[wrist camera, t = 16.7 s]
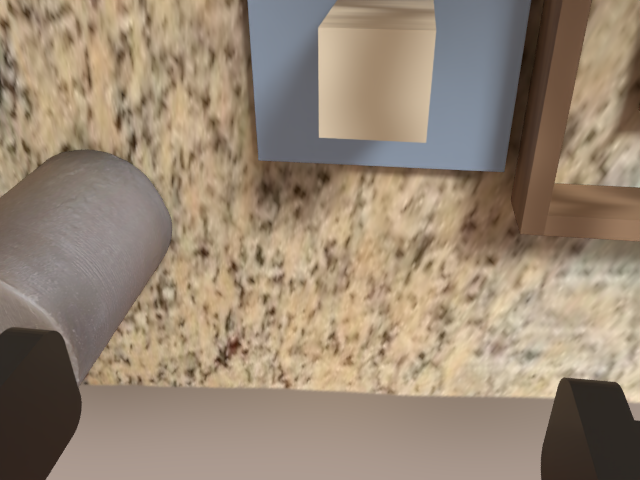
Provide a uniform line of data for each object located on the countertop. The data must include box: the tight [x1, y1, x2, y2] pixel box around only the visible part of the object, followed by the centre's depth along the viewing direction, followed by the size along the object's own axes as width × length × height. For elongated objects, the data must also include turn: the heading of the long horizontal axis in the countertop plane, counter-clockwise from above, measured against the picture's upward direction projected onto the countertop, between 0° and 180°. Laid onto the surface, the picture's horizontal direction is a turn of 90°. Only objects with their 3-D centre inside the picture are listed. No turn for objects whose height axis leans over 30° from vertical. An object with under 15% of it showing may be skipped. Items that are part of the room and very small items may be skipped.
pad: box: [248, 0, 531, 172], centre depth 32 cm, size 14×14×1 cm
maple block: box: [318, 0, 436, 143], centre depth 28 cm, size 4×4×8 cm
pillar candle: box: [0, 150, 172, 387], centre depth 34 cm, size 10×10×15 cm
